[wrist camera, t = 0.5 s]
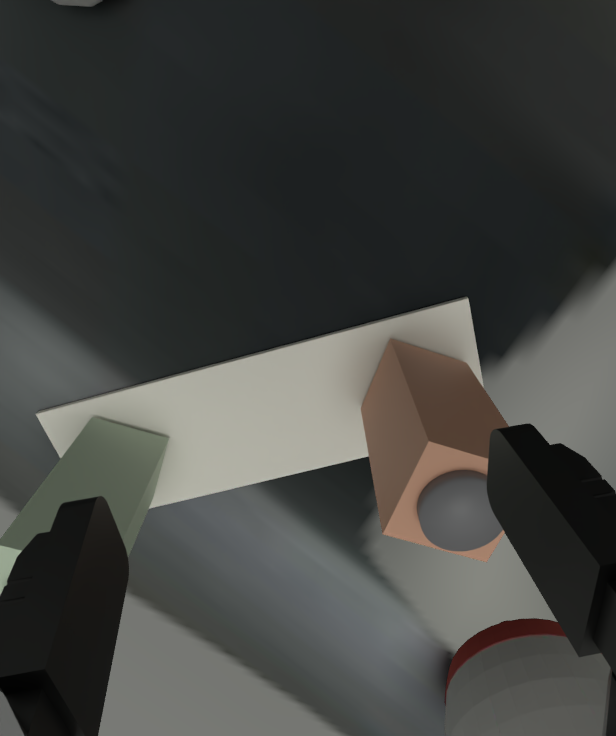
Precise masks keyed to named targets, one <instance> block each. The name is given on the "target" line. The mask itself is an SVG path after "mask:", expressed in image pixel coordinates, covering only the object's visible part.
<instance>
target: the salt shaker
mask: <svg viewBox="0 0 616 736" xmlns="http://www.w3.org/2000/svg"><path fill="white" fill-rule="evenodd" d="M51 1H53V2H55V3H57V4H59V5H71V6H89V7H92V6H94V5H96V4H98V3H100V2H101V1H103V0H51Z"/></svg>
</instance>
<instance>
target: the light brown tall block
mask: <svg viewBox="0 0 616 736" xmlns="http://www.w3.org/2000/svg"><path fill="white" fill-rule="evenodd" d="M361 414H362V420H363V425H364V431H365V437H366V442H367V448H368V454H369V459H370V465H371V471H372V476H373V482H374V488H375V494H376V499H377V505H378V511H379V516H380V522H381V528H382V533H383V535H387V536H391V537H395V538H398V539H403V540H406V541H410V542H414V543H417V544H421V545H424V546H428V547H432V548H435V549H439V550H443V551H447V552H450V553H454V554H458V555H461V556H465V557H469V558H472V559H476V560H480V561H483V562H487V561H488V559H489V558H490V556H491V554H492V553H493V551H494V549H495V548H496V546H497V544H498V543H499V541H500V540H501V538H502V536H503V535H504V533H505V532H504V530H503V529H502V527H501V525H500V523H499V522H498V520H497V518H496V517H495V515H494V513H493V511H492V509H491V506H490V503H489V499H488V494H487V471H488V457H489V443H490V435H491V432H492V431H493V430H494V429H499V428H505V427H509V426H508V424H507V423H506V421H505V420H504V418H503V417H502V415H501V414H500V412H499V411H498V409H497V408H496V406H495V405H494V403H493V402H492V400H491V399H490V397H489V396H488V394H487V393H486V391H485V390H484V388H483V387H482V385H481V383H480V382H479V380H478V379H477V377H476V376H475V374H474V373H473V371H472V370H471V368H470V367H469V365H468V364H467V363H466V362H463V361H459V360H456V359H453V358H450V357H447V356H444V355H441V354H437V353H434V352H431V351H428V350H425V349H422V348H419V347H416V346H412V345H409V344H406V343H403V342H400V341H397V340H394V339H391V338H390V340H389V343H388V345H387V347H386V350H385V352H384V354H383V357H382V359H381V362H380V364H379V366H378V369H377V371H376V373H375V376H374V378H373V380H372V383H371V385H370V388H369V390H368V392H367V395H366V397H365V399H364V402H363V404H362V407H361Z"/></svg>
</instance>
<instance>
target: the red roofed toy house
mask: <svg viewBox="0 0 616 736" xmlns="http://www.w3.org/2000/svg"><path fill="white" fill-rule="evenodd" d="M609 672H610V666H609V664H608V663H607V661H606V660H605V658H604V657H603V655H602V653H599V654H594V655H589V656H584V657H578V655H577V653H576V652H575V650H574V648H573V646H572V645H571V643H570V641H569V640H568V638H567V636H566V635H565V633H564V631H563V630H562V628H561V626H560V625H559V623H558V622H554V621H551V620H543V619H518V620H512V621H504V622H501V623H499V624H497V625H494V626H491V627H489V628H487V629H485V630H483V631H480V632H479V633H477V634H476V635H474V636H473V637H471V638H470V639H469V640H467V641H466V642H465V643H464V644H463V645H462V646H461V647H460V648H459V649H458V651H457V653H456V654H455V656H454V657H453V659H452V662H451V665H450V668H449V673H448V677H447V683H446V690H445V705H446V713H445V736H602V733H603V723H604V714H605V704H606V694H607V685H608V676H609Z"/></svg>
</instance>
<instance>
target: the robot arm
mask: <svg viewBox="0 0 616 736" xmlns="http://www.w3.org/2000/svg"><path fill="white" fill-rule="evenodd" d="M487 494H488V499H489V503H490V506H491V509H492V511H493V513H494V515H495V517H496V518H497V520H498V522H499V523H500V525H501V527H502V529H503V530H504V532H505V534H506V535H507V537H508V539H509V540H510V542H511V544H512V545H513V547H514V549H515V550H516V552H517V554H518V555H519V557H520V559H521V561H522V562H523V564H524V566H525V567H526V569H527V571H528V572H529V574H530V575H531V577H532V579H533V581H534V582H535V584H536V586H537V587H538V589H539V591H540V592H541V594H542V596H543V598H544V599H545V601H546V603H547V604H548V606H549V608H550V609H551V611H552V613H553V614H554V616H555V618H556V619H557V621H558V623H559V625H560V626H561V628H562V630H563V631H564V633H565V635H566V636H567V638H568V640H569V641H570V643H571V645H572V646H573V648H574V650H575V652H576V653H577V655H578V657H584V656H589V655H594V654H599V653H602V655H603V657H604V658H605V660H606V661H607V663H608V664H609V666H610V672H609V676H608V685H607V694H606V704H605V714H604V723H603V733H602V736H616V493H615V490H614V489H613V488H612V487H611V486H610V485H609V484H608V483H607V481H606V480H602V477H601V475H600V474H599V473H598V471H597V470H596V469H595V468H594V467H593V466H592V465H591V464H590V463H589V462H588V461H587V459H586V458H585V457H583V456H581V455H579V454H578V453H576V452H575V451H573V450H571V449H569V448H568V447H566V446H564V445H563V444H561V443H559V444H553V445H549V443H548V442H547V441H546V440H545V439H544V438H543V436H542V435H541V434H540V433H539V432H538V431H537V429H536V428H535V427H534V426H533V425H531V424H522V425H516V426H511V427H505V428H499V429H494V430H493V431H492V432H491V435H490V443H489V457H488V471H487ZM128 576H129V563H128V556H127V551H126V548H125V545H124V543H123V540H122V538H121V535H120V533H119V530H118V528H117V525H116V523H115V520H114V518H113V515H112V513H111V510H110V508H109V505H108V503H107V501H106V499H105V498H104V497H102V496H98V497H92V498H87V499H81V500H75V501H69V502H64V503H62V504H61V505H60V507H59V509H58V512H57V514H56V517H55V519H54V522H53V525H52V527H51V530H50V532H44V533H38V534H36V536H35V537H34V538H33V539H32V540H31V541H30V542H29V544H28V545H27V546H26V547H25V548H24V549H23V551H22V552H21V553H20V554H19V555H18V556H17V558H16V561H15V563H14V565H13V568H12V570H11V572H10V575H9V577H8V579H7V586H4V589H3V591H2V593H1V596H0V736H98V732H99V727H100V722H101V717H102V712H103V707H104V702H105V696H106V691H107V685H108V681H109V676H110V671H111V665H112V660H113V655H114V650H115V645H116V640H117V635H118V629H119V624H120V619H121V614H122V609H123V604H124V598H125V593H126V588H127V583H128Z"/></svg>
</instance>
